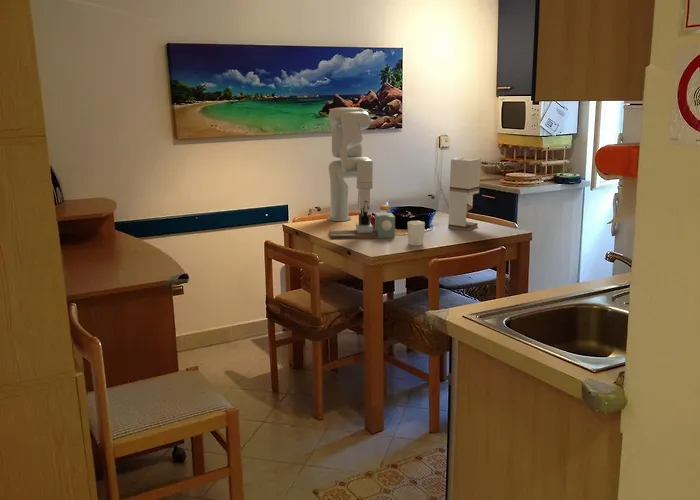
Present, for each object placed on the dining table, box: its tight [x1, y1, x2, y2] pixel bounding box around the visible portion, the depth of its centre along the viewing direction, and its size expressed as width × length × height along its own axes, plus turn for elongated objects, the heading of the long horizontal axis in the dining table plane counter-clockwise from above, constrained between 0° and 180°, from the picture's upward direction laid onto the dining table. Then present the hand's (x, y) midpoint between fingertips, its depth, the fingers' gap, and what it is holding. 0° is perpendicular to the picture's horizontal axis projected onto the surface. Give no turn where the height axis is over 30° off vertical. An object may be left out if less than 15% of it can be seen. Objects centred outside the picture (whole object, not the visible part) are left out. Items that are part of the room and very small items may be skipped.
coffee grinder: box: [447, 157, 482, 232], centre depth 334 cm, size 11×11×35 cm
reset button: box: [379, 204, 391, 211], centre depth 317 cm, size 5×5×2 cm
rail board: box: [328, 229, 378, 240], centre depth 318 cm, size 12×22×3 cm, turn 96°
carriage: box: [355, 213, 374, 233], centre depth 318 cm, size 9×7×9 cm
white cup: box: [407, 220, 426, 246], centre depth 302 cm, size 8×8×10 cm
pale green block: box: [374, 212, 396, 239], centre depth 319 cm, size 11×8×10 cm
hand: (364, 222), depth 318 cm, fingers open, 3 cm apart
